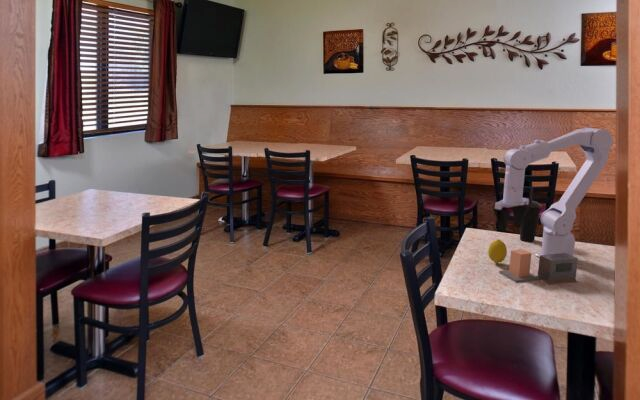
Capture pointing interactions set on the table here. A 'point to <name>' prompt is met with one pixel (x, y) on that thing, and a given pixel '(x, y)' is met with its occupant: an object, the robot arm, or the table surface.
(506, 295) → the table surface
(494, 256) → the lemon
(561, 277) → the parts unit
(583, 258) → the table surface
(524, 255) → the terracotta block
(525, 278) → the mat
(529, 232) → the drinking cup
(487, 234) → the table surface
